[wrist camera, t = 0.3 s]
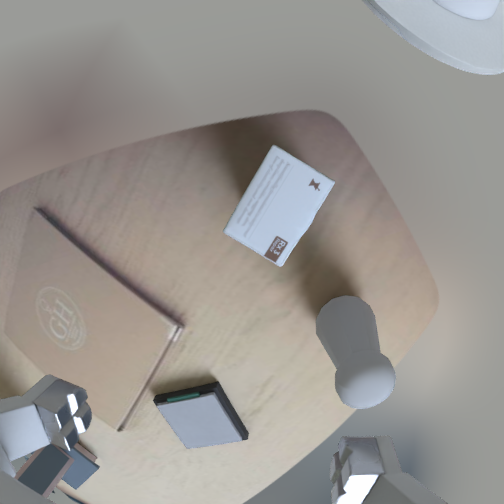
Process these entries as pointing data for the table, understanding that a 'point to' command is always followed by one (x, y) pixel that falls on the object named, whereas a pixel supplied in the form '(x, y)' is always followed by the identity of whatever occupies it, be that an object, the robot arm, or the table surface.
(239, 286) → the table surface
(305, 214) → the cosmetic box
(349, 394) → the salt shaker
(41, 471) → the desk lamp
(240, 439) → the scale
